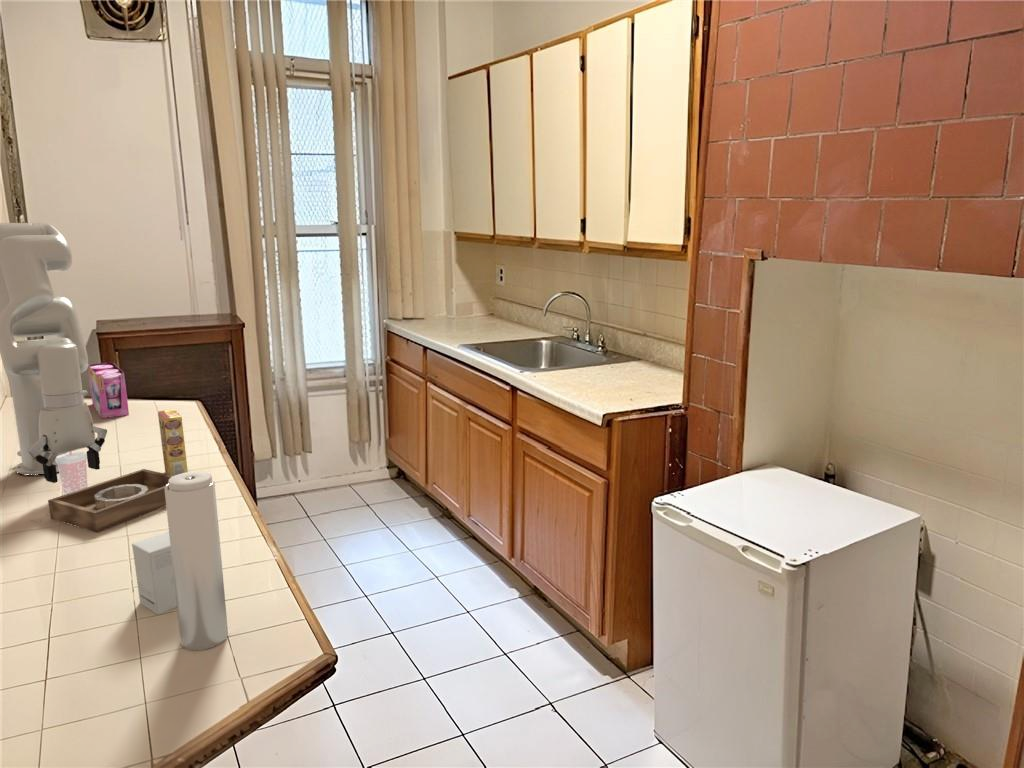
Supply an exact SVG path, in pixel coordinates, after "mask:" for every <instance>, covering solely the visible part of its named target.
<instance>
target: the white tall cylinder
mask: <svg viewBox="0 0 1024 768" xmlns="http://www.w3.org/2000/svg"><path fill="white" fill-rule="evenodd" d="M168 482H169V483H168V484H167V485H166V486H165V487H164V489H165V499H166V506H165V508H166V515H167V516H166V517H167V523H168V524H167V525H168V532H169V536H170V546H171V555H172V565H173V574H174V584H175V593H176V603H177V607H176V610H177V620H178V629H179V641H180V645H181V647H182V648H183V649H186V650H188V651H189V650H190V651H205V650H208V649H212V648H214V647H217V646H218V645H220V644H222V643H223V642H224V641H225V640H226V639H227V638H228V636H229V627H228V618H227V617H228V616H227V615H228V614H227V606H226V605H227V604H226V595H225V583H224V573H223V562H222V550H221V549H222V548H221V539H220V528H219V518H218V505H217V495H216V484H215V483H216V482H215V481H213V476H212V473H209V472H207V471H188V472H186V473H182V474H178V475H175V476H173V477H171V478H170V479H169V481H168Z"/></svg>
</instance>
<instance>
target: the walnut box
mask: <svg viewBox="0 0 1024 768" xmlns="http://www.w3.org/2000/svg"><path fill="white" fill-rule="evenodd" d="M171 477H173V475H168V474H166V473H163V472H158V471H154V470H150V469H145V468H142V469H139V470H136V471H133V472H130V473H127V474H123V475H121V476H120V475H119V476H117V477H115V478H112V479H108V480H105V481H103V482H100V483H96V484H94V485H91V486H88V487H87V488H84V489H81V490H78V491H75V492H72V493H69V494H66V495H64V494H62V495H60V496H57V497H53V498H51V499H48V500H47V502H48V503H47V504H48V512H49V517H50V519H51V520H53V521H54V520H55V521H57V520H58V522H60V521H61V523H64V522H65V523H64V524H67V523H69V524H68V525H70V524H72V525H71V526H74V525H76V526H75V527H77V526H79V527H78V528H81V529H84V528H85V529H84V530H87V529H88V530H87V531H91V532H94V533H99V532H102V531H105V530H107V529H110V528H112V527H116V526H117V525H120V524H124V523H125V522H128V521H130V520H133V519H135V518H138V517H141V516H143V515H146V514H149V513H151V512H154V511H156V510H159V509H162V508H164V507H166V499H165V489H164V487H165V486H166V485H167V484H168V483H169V482H168V481H169V479H170V478H171ZM126 484H140V485H144V486H147V488H148V492H147V493H144V494H141V495H139V496H136V497H133V498H130V499H128V500H125V501H122V502H119V503H117V504H114V505H111V506H108V507H105V508H103V509H100V510H97V509H96V504H95V496H94V495H95V494H97V493H98V492H99V491H101V490H104V489H107V488H110V487H113V486H119V485H126ZM124 498H126V497H124ZM118 499H120V498H118Z"/></svg>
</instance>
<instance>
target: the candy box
mask: <svg viewBox="0 0 1024 768" xmlns="http://www.w3.org/2000/svg"><path fill="white" fill-rule="evenodd" d="M157 417H158V424H159V425H158V426H159V431H160V432H159V433H160V440H161V441H160V442H161V448H162V456H163V464H164V472H165V474H168V475H173V476H175V475H178V474H182V473H186V472H189V470H188V463H187V452H186V445H185V435H184V427H183V417H182V416H181V414H180V413H179V412H178V410H176V409H175V408H173V409H166V410H159V411H157Z"/></svg>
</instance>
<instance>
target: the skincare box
mask: <svg viewBox="0 0 1024 768" xmlns="http://www.w3.org/2000/svg"><path fill="white" fill-rule="evenodd" d="M131 546H132V554H133V560H134V567H135V575H136V583H137V584H136V585H137V590H138V591H137V592H138V598H139V604H141V605H143V606H144V607H146V608H147V609H148V610H150V611H151V612H153V613H154V614H156V615H161V614H163V613H165V612H168V611H170V610H172V609H175V608H177V603H176V593H175V584H174V574H173V565H172V555H171V546H170V536H169V531H167V532H164V533H161V534H158V535H155V536H152V537H149V538H146V539H145V538H144V539H143V540H140V541H136V542H133V543H131Z"/></svg>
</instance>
